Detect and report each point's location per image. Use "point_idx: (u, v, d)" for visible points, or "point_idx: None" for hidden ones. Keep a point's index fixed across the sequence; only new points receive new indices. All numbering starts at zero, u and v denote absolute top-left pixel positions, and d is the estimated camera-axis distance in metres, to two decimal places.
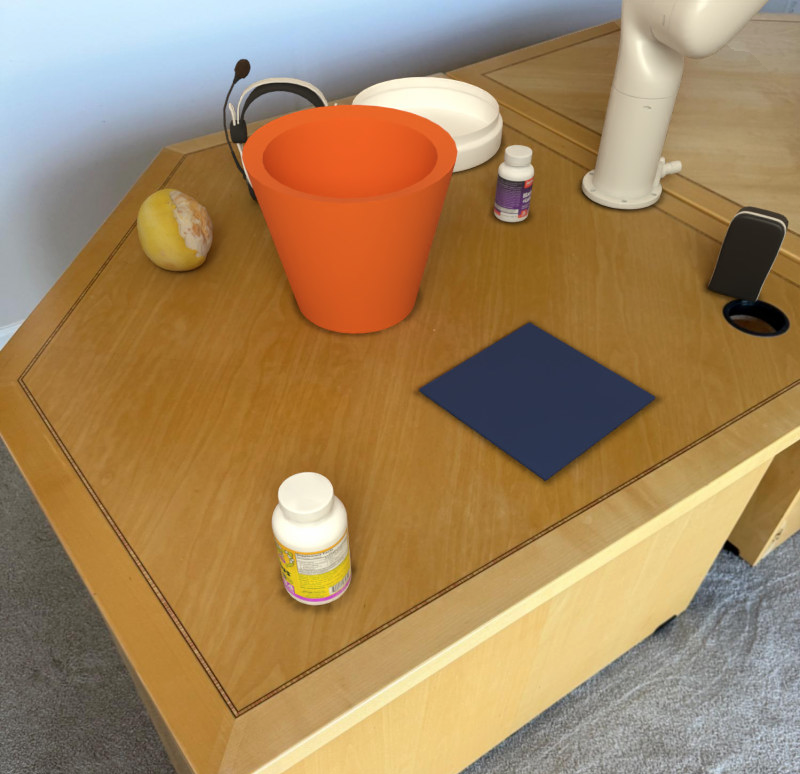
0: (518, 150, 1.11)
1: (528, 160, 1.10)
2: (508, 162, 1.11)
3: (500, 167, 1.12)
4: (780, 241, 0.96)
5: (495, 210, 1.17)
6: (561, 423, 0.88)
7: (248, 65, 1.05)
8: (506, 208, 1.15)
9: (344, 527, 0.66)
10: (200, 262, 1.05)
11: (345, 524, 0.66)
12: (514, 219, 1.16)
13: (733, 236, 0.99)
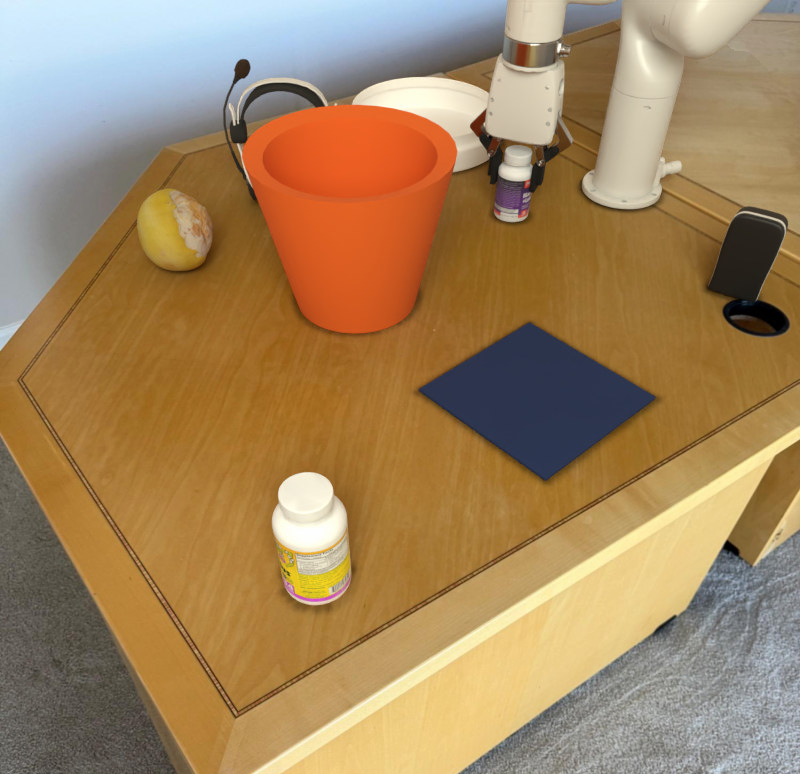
0: (518, 150, 1.11)
1: (528, 160, 1.10)
2: (508, 162, 1.11)
3: (500, 167, 1.12)
4: (780, 241, 0.96)
5: (495, 210, 1.17)
6: (561, 423, 0.88)
7: (248, 65, 1.05)
8: (506, 208, 1.15)
9: (344, 527, 0.66)
10: (200, 262, 1.05)
11: (345, 524, 0.66)
12: (514, 219, 1.16)
13: (733, 236, 0.99)
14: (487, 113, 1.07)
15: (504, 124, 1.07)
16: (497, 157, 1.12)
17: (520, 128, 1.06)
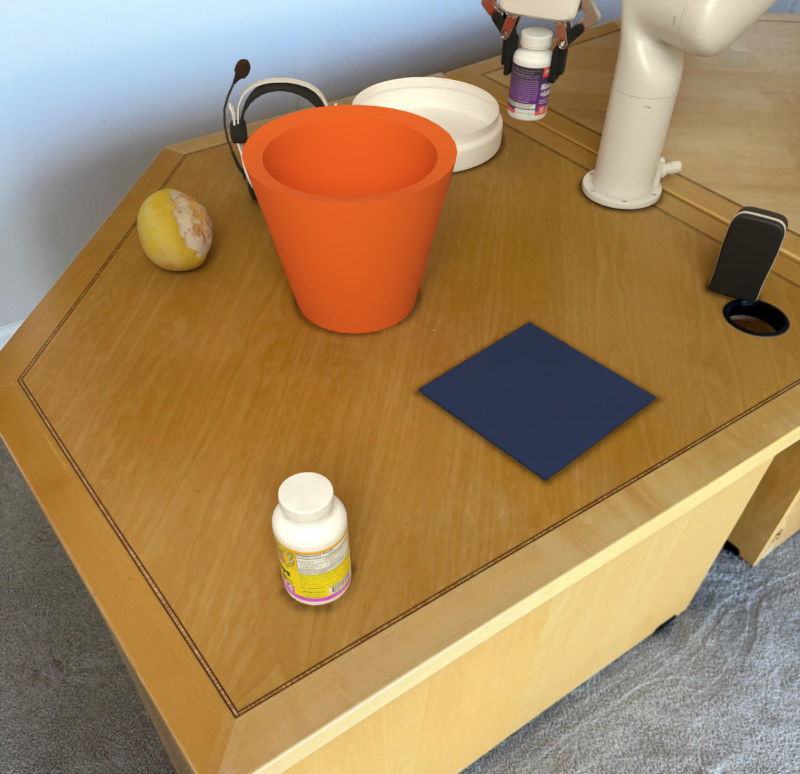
0: (536, 31, 0.96)
1: (548, 43, 0.95)
2: (525, 45, 0.96)
3: (515, 53, 0.98)
4: (780, 241, 0.96)
5: (509, 107, 1.02)
6: (561, 423, 0.88)
7: (248, 65, 1.05)
8: (522, 103, 1.00)
9: (344, 527, 0.66)
10: (200, 262, 1.05)
11: (345, 524, 0.66)
12: (530, 117, 1.01)
13: (733, 236, 0.99)
14: None
15: None
16: (512, 40, 0.97)
17: (539, 0, 0.91)
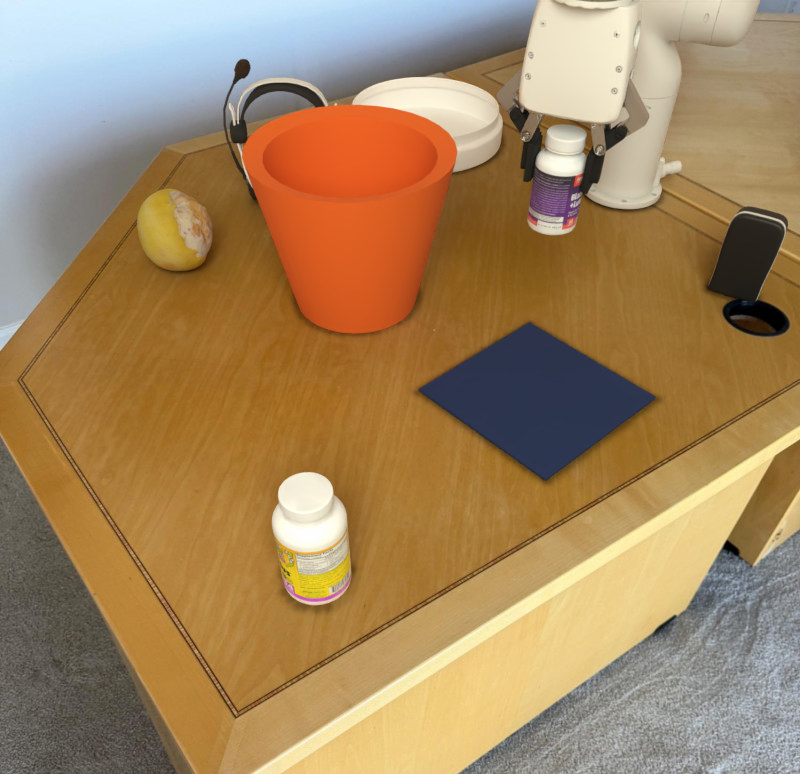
0: (565, 131, 0.76)
1: (581, 146, 0.76)
2: (551, 149, 0.76)
3: (539, 156, 0.78)
4: (780, 241, 0.96)
5: (530, 218, 0.82)
6: (561, 423, 0.88)
7: (248, 65, 1.05)
8: (546, 216, 0.80)
9: (344, 527, 0.66)
10: (200, 262, 1.05)
11: (345, 524, 0.66)
12: (557, 231, 0.81)
13: (733, 236, 0.99)
14: (523, 76, 0.72)
15: (548, 92, 0.72)
16: (535, 142, 0.77)
17: (572, 98, 0.72)
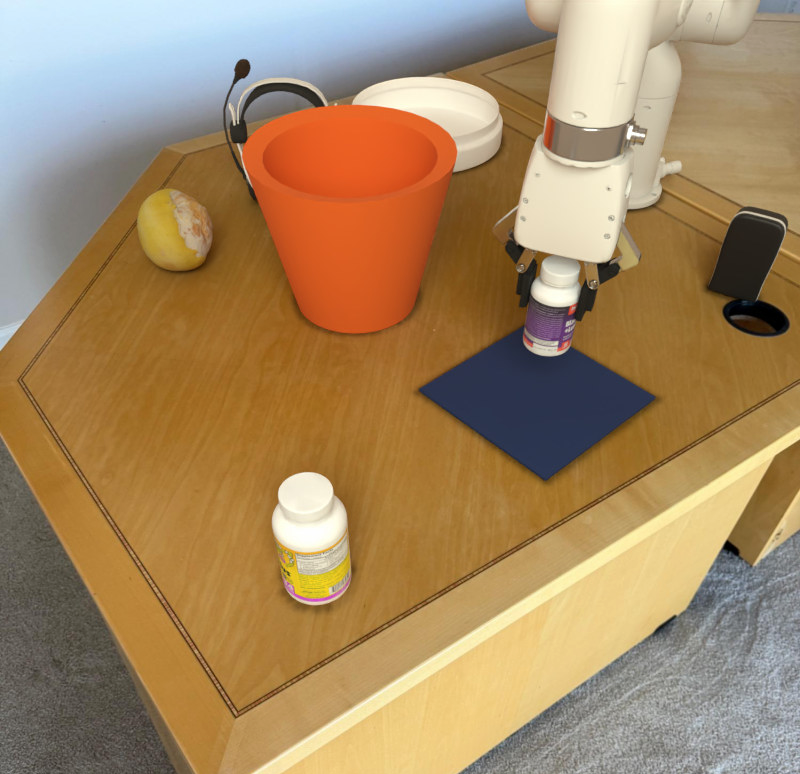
0: (560, 264, 0.78)
1: (575, 279, 0.78)
2: (546, 281, 0.78)
3: (534, 286, 0.80)
4: (780, 241, 0.96)
5: (525, 339, 0.84)
6: (561, 423, 0.88)
7: (248, 65, 1.05)
8: (542, 340, 0.82)
9: (344, 527, 0.66)
10: (200, 262, 1.05)
11: (345, 524, 0.66)
12: (552, 353, 0.83)
13: (733, 236, 0.99)
14: (518, 217, 0.74)
15: (542, 233, 0.74)
16: (530, 273, 0.79)
17: (566, 240, 0.73)
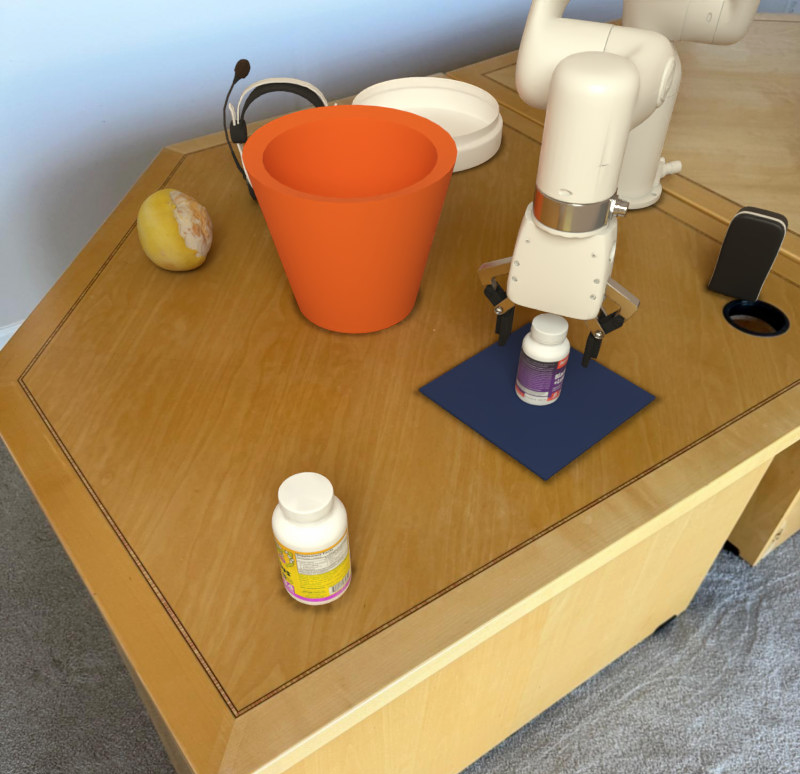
0: (549, 322, 0.84)
1: (563, 337, 0.83)
2: (536, 339, 0.84)
3: (525, 341, 0.85)
4: (780, 241, 0.96)
5: (517, 389, 0.90)
6: (561, 423, 0.88)
7: (248, 65, 1.05)
8: (533, 391, 0.88)
9: (344, 527, 0.66)
10: (200, 262, 1.05)
11: (345, 524, 0.66)
12: (542, 402, 0.89)
13: (733, 236, 0.99)
14: (510, 278, 0.79)
15: (533, 293, 0.79)
16: (508, 315, 0.84)
17: (555, 299, 0.79)
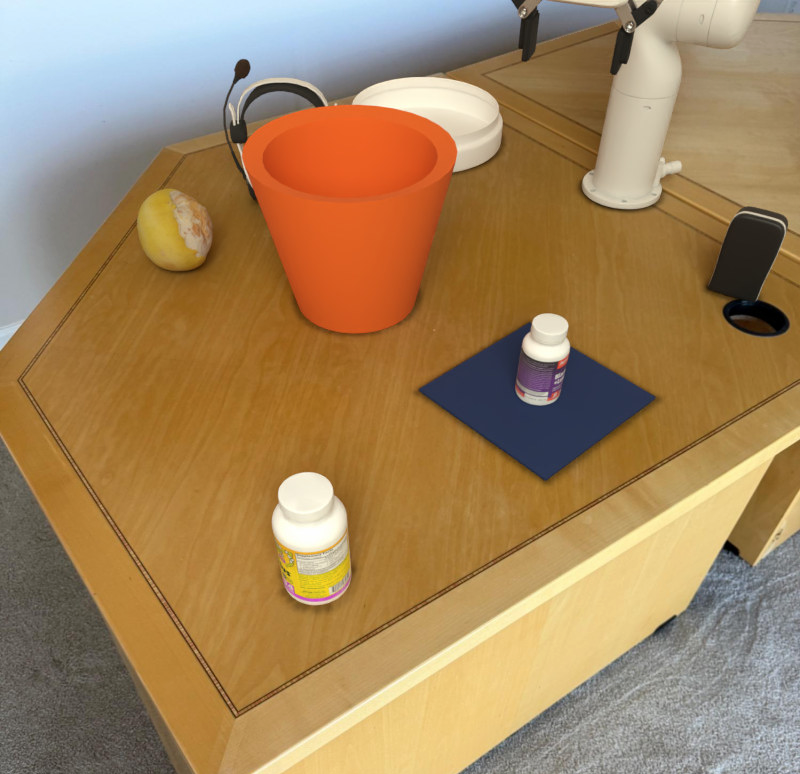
0: (549, 322, 0.84)
1: (563, 337, 0.83)
2: (536, 339, 0.84)
3: (525, 341, 0.85)
4: (780, 241, 0.96)
5: (517, 389, 0.90)
6: (561, 423, 0.88)
7: (248, 65, 1.05)
8: (533, 391, 0.88)
9: (344, 527, 0.66)
10: (200, 262, 1.05)
11: (345, 524, 0.66)
12: (542, 402, 0.89)
13: (733, 236, 0.99)
14: None
15: None
16: (532, 19, 0.80)
17: None
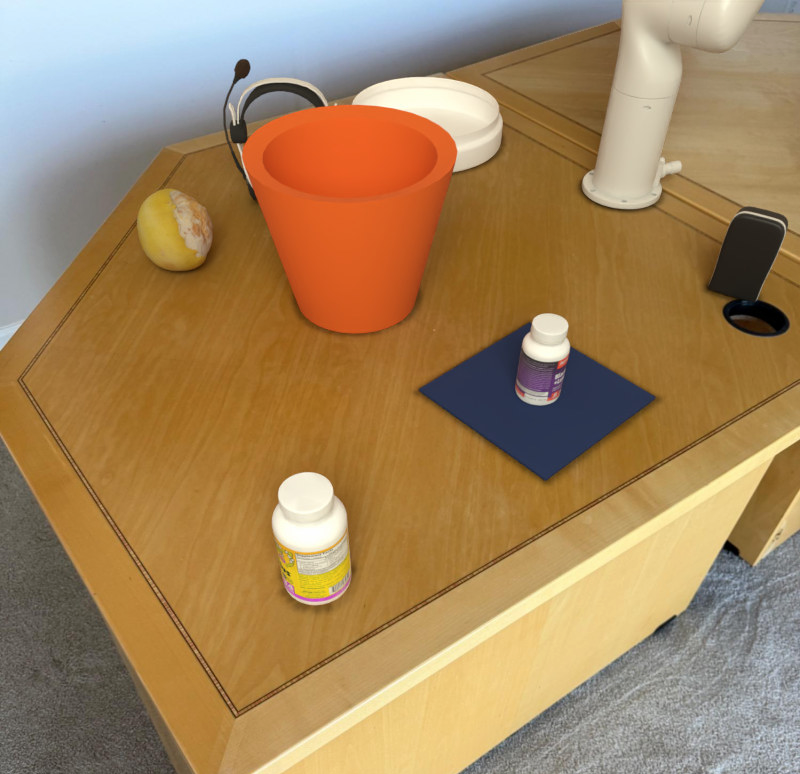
0: (549, 322, 0.84)
1: (563, 337, 0.83)
2: (536, 339, 0.84)
3: (525, 341, 0.85)
4: (780, 241, 0.96)
5: (517, 389, 0.90)
6: (561, 423, 0.88)
7: (248, 65, 1.05)
8: (533, 391, 0.88)
9: (344, 527, 0.66)
10: (200, 262, 1.05)
11: (345, 524, 0.66)
12: (542, 402, 0.89)
13: (733, 236, 0.99)
14: None
15: None
16: None
17: None
